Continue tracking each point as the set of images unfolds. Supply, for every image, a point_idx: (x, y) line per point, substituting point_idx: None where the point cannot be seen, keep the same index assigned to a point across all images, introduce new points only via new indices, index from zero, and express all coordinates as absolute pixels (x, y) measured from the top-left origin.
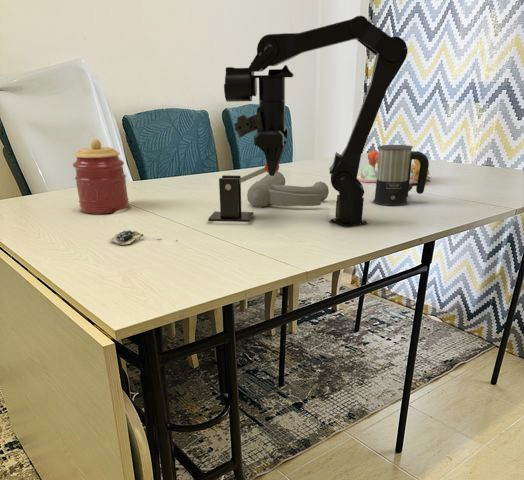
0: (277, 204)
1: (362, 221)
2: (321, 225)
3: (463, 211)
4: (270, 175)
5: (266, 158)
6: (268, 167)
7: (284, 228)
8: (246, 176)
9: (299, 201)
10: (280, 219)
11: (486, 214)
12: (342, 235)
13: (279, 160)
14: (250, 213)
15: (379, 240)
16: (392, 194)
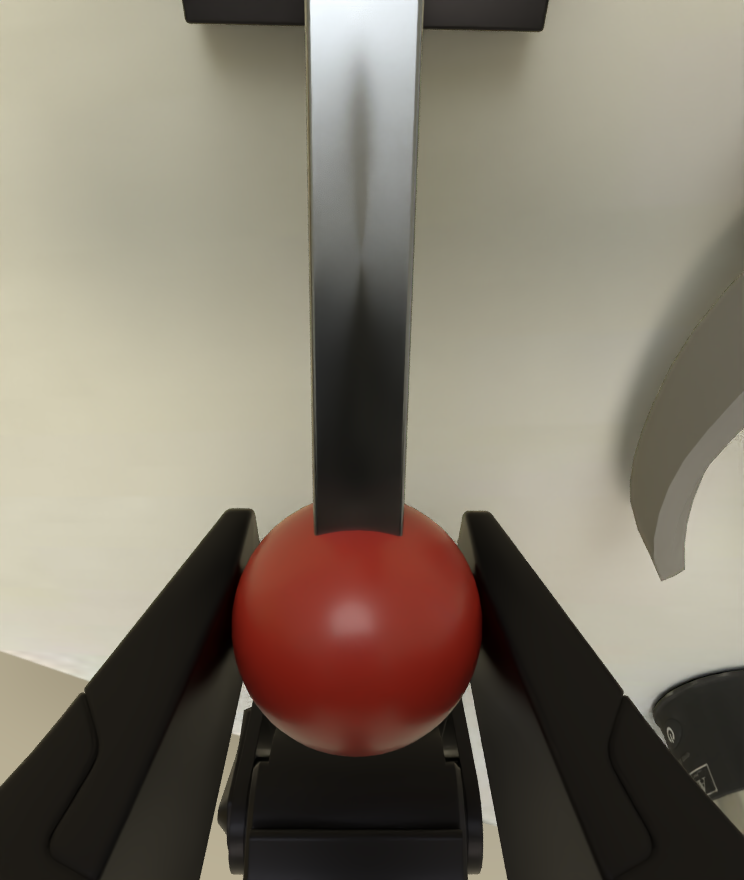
0: (739, 277)
1: None
2: (289, 502)
3: None
4: (228, 514)
5: (27, 762)
6: (156, 604)
7: (165, 330)
8: (309, 80)
9: (651, 452)
10: (425, 289)
11: (485, 810)
12: (121, 566)
13: (483, 748)
14: (475, 2)
15: (99, 647)
16: (678, 747)
